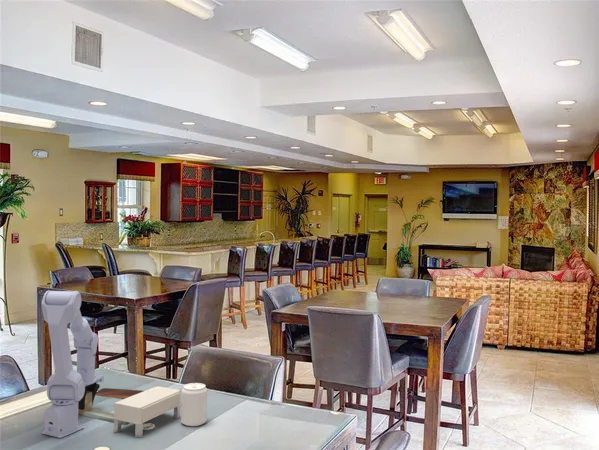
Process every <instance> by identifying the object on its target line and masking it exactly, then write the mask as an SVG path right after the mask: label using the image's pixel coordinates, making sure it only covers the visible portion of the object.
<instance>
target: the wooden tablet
mask: <svg viewBox="0 0 599 450" xmlns="http://www.w3.org/2000/svg"><path fill="white" fill-rule="evenodd" d="M143 391H144V390H139V389H138V390H137V389H128V388H126V389H125V388H112V387H111V388H110V387H109V388H108V387H106V388H105V387H103V388H101V389H100V388H99V389H98V392H97V393H96V395H95V396H98V397H104V398H111V399H112V398H113V399H121V400H123V399H126V398H128V397H131V396H133V395H136V394H138V393H141V392H143Z"/></svg>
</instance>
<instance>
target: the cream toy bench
mask: <svg viewBox="0 0 599 450" xmlns="http://www.w3.org/2000/svg"><path fill="white" fill-rule="evenodd" d="M142 391H143V392H141V393H138V394H136V395H133V396H131V397H128V398H126V399H121V400H118V401H116V402H114V403H113V405H114V406H113V413H114V423H113V432H114V433H117V434H118V433H120V432H121V431H122V424H121V421H125V422H130V423H129V424H134V425H135V429H134V430H135V435H134V436H135V438H138V439H139V438H142V437H143V435H144V434H143V431H144V430H143V424H145V423H146V422H148V421H150V420H153V419H154V418H156V417H158V416H161V415H163V414H165V413H167V412H169V411H171V410H173V419H181V406H182V389H174V388H171V387H170V388H169V387H165V386H158V385H157V386H154V387H151V388H149V389H146V390H142Z"/></svg>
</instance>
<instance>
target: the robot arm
mask: <svg viewBox="0 0 599 450" xmlns="http://www.w3.org/2000/svg"><path fill="white" fill-rule="evenodd" d="M81 306H82V294H81V293H80V291H78V290H74V291H72V290H71V291H70V290H69V291H68V290H64V291H63V290H46V291H45V293H44V294H43V296H42V300H41V309H42V316H43V321H44V322H46V323H47V325H48V326H47V327H48V333H49V341H50V347H51V355H52V361H53V367H54V372H53V374H52V375H50V376H49V378H48V380H47V382H46V384H47V385H46V387H47V388H46V396H47V398H48V400H49V401H50V404H51V406H49V407H47V408H46V409H45V411H44V416H43V420H44V421H43V422H44V423H43V431H42V432H41V434H42V435H43V434H44V435H47V436H50V437H55V438H59V439H61V438H63V437H66V436H68V435H69V436H70V434H74V433H76V432H78V431H80V430H83V429H85V426H84V425H79V414H78V409H81V410H83V409H84V407H85V397H86V394H87V391H89V392H92V406H93V404H94V400H95V398H96V396H97V395H96V393H97V391H99V390H100V386H101V385H100V384H99V383H100V382H104V380H105V378H104V376H105V375H104V374H103V375H101V374H97V375H95V373H96V370H95V369H96V364H95V363H96V354H97V351H98V348H97V347H98V343H99V336H98V334H97V333H95V332H94V331H93V330H92V328H91V326H90V324H89V322H88V320H87V318H84V317H83V316H82V312H81V309H80V308H81ZM69 324H70V325H69ZM68 325H69V330H70V331H71V334H72V336H73V337H72V338H73V339H72V340H73V347H74V348H75V349H76V370H74V367H73V366H74V365H73V360H72V352H71V344H70V339H69V330H68Z"/></svg>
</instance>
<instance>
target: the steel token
mask: <svg viewBox="0 0 599 450" xmlns="http://www.w3.org/2000/svg"><path fill="white" fill-rule="evenodd" d="M154 428H156V424H155V423H152V422H148V423H146V422H145V423H143V431H150V430H153V429H154Z"/></svg>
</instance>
